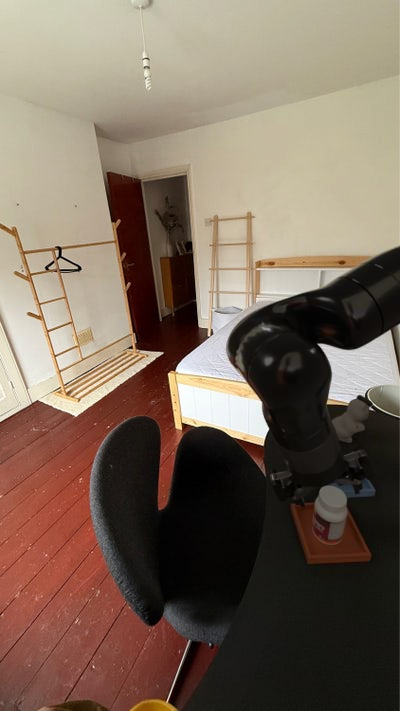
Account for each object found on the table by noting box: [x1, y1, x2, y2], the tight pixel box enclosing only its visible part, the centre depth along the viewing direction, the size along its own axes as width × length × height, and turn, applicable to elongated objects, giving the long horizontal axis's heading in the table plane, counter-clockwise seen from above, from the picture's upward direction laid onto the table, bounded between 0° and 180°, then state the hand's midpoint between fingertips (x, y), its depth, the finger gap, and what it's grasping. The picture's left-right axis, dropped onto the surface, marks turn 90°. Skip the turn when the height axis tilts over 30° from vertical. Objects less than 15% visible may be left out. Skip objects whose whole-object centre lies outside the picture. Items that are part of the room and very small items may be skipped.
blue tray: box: [327, 463, 376, 499], centre depth 76 cm, size 11×11×2 cm
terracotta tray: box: [290, 501, 372, 565], centre depth 64 cm, size 12×12×2 cm
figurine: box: [331, 394, 374, 444], centre depth 87 cm, size 9×10×15 cm
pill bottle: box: [312, 486, 348, 545], centre depth 62 cm, size 6×6×11 cm
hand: (327, 494), depth 48 cm, fingers open, 8 cm apart
